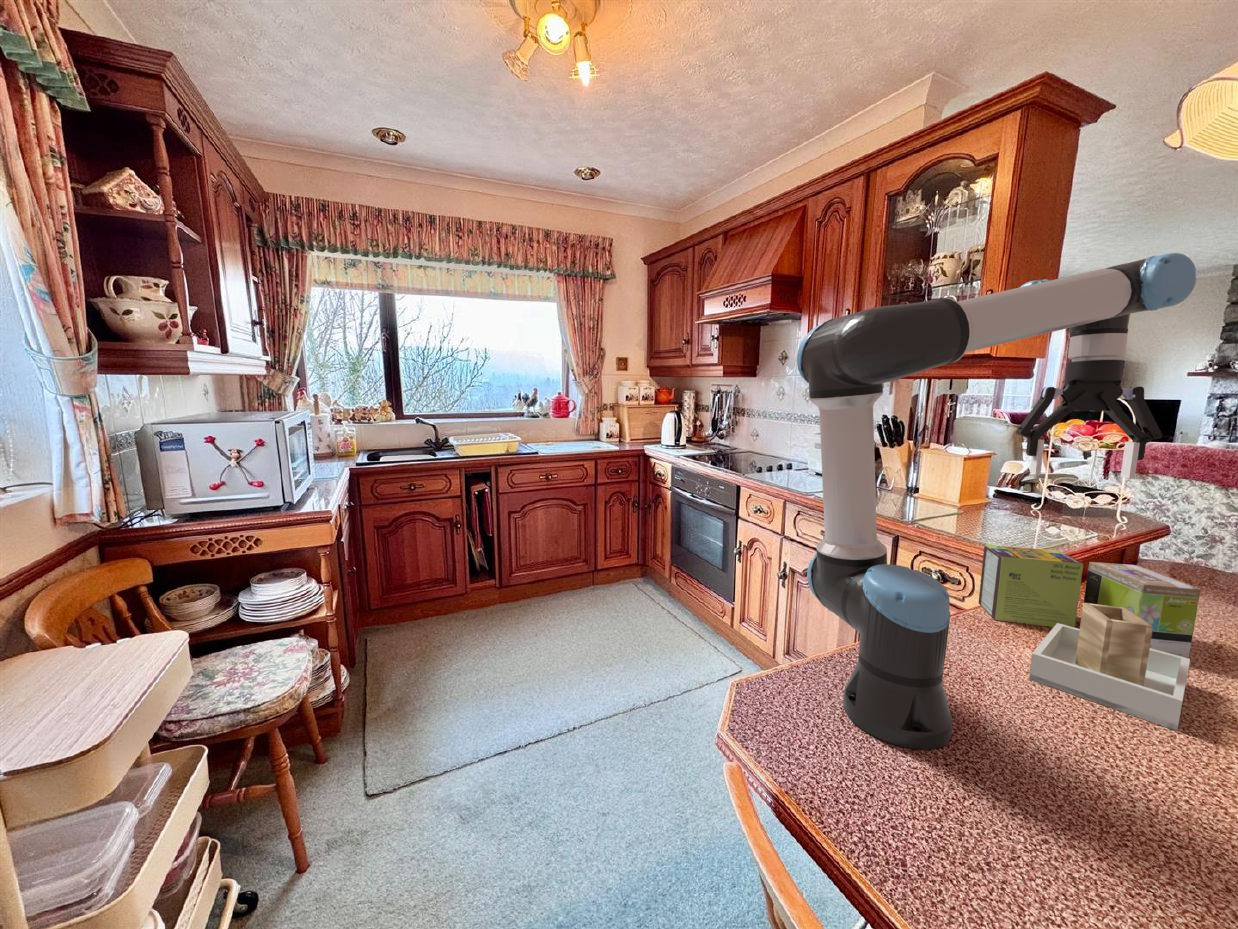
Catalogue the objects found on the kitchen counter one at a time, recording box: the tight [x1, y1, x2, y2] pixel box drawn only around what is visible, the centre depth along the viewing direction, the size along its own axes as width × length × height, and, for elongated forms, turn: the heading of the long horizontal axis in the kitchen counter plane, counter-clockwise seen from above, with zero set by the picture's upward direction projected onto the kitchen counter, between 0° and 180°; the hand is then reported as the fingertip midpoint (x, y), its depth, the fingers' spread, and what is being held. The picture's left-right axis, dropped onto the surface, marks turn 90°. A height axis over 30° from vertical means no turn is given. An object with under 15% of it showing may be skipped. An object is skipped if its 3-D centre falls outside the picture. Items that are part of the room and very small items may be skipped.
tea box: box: [1083, 561, 1201, 659], centre depth 104 cm, size 15×10×15 cm
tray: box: [1028, 623, 1191, 732], centre depth 88 cm, size 18×20×5 cm
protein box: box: [978, 544, 1084, 628], centre depth 115 cm, size 10×15×16 cm
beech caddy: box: [1075, 602, 1153, 686], centre depth 88 cm, size 6×8×12 cm
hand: (1079, 475), depth 92 cm, fingers open, 13 cm apart
